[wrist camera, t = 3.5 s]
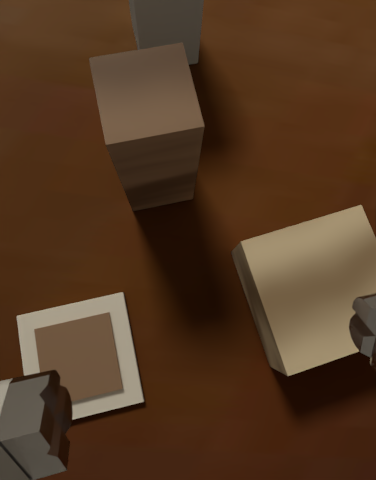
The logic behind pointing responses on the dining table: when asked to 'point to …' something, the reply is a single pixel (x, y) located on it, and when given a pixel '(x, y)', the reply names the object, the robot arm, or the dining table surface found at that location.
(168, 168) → the walnut pillar
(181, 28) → the grey pillar
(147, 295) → the dining table surface
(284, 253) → the maple block
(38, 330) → the swatch
